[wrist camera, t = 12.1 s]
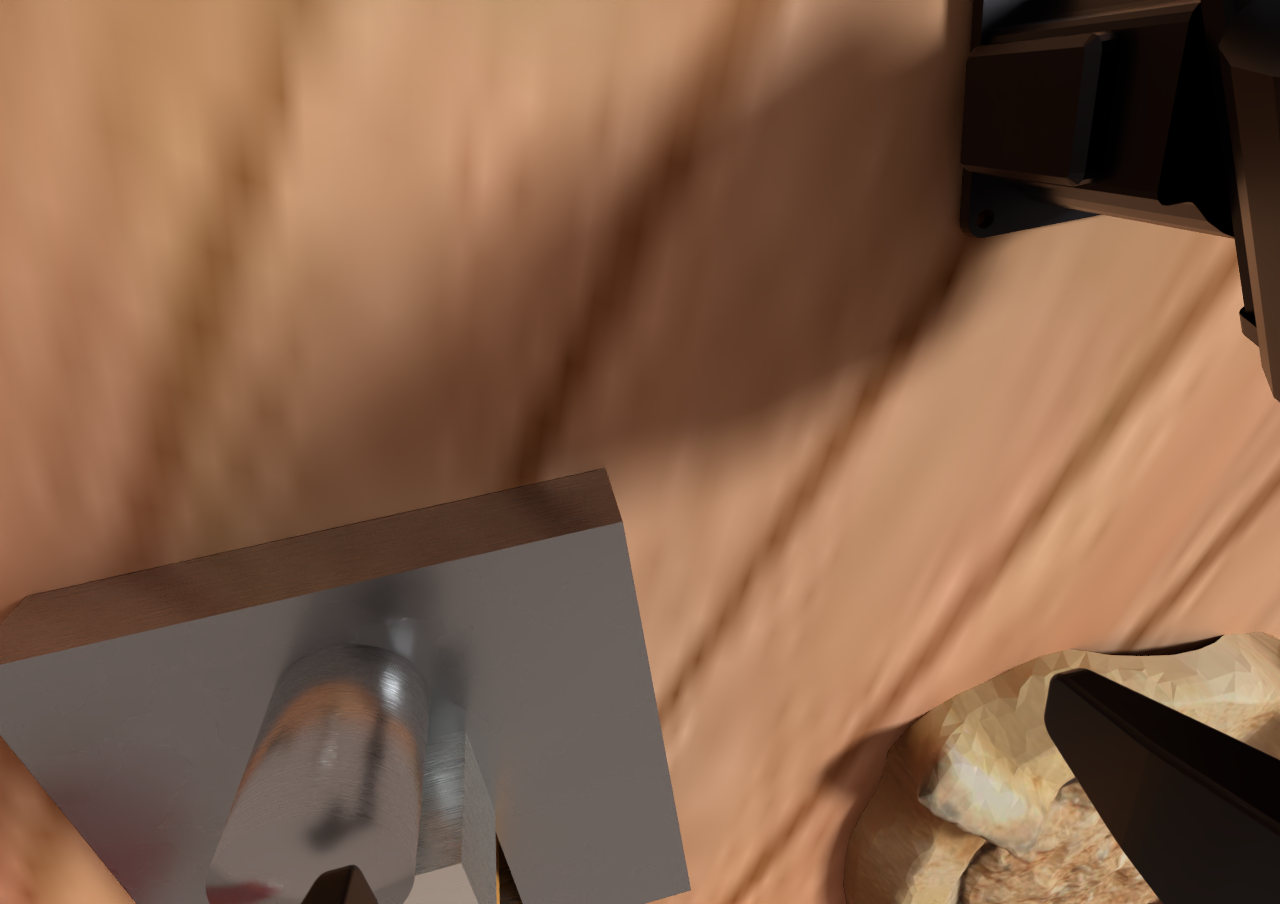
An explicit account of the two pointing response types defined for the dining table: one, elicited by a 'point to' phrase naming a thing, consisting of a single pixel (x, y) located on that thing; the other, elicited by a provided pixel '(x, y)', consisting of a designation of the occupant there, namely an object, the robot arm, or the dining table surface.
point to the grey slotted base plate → (362, 712)
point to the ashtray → (1035, 783)
